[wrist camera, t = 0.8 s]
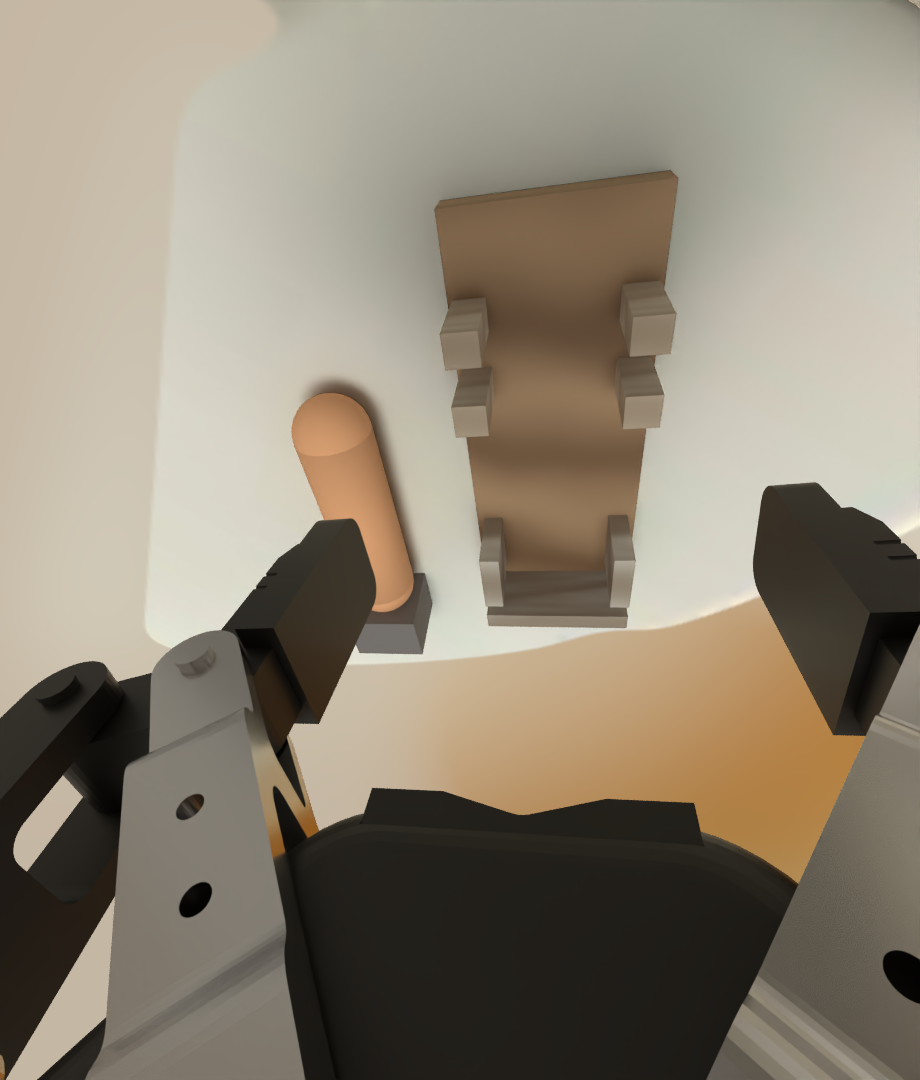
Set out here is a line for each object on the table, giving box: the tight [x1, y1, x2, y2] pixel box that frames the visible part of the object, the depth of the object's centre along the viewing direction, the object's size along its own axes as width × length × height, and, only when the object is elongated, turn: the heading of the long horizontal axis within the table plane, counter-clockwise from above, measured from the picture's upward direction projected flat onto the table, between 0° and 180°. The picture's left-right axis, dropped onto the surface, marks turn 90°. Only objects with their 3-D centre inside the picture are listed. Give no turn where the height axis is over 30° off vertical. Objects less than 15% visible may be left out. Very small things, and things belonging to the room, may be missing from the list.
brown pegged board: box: [435, 170, 678, 628], centre depth 25 cm, size 21×9×5 cm, turn 7°
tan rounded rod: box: [292, 393, 432, 654], centre depth 31 cm, size 18×4×4 cm, turn 7°
